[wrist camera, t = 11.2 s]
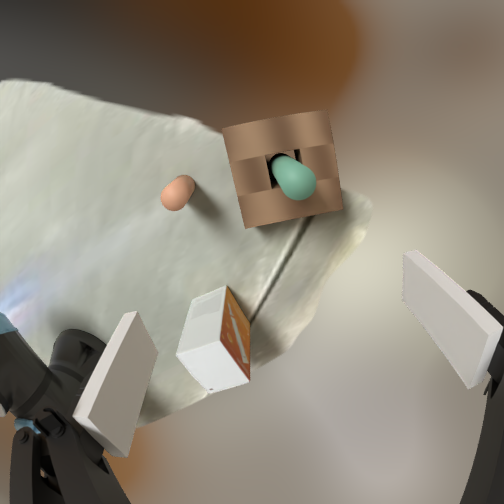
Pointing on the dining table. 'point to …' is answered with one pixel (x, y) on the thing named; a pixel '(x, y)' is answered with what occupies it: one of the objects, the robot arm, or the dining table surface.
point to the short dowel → (177, 193)
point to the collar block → (274, 141)
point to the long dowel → (293, 177)
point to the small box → (216, 341)
